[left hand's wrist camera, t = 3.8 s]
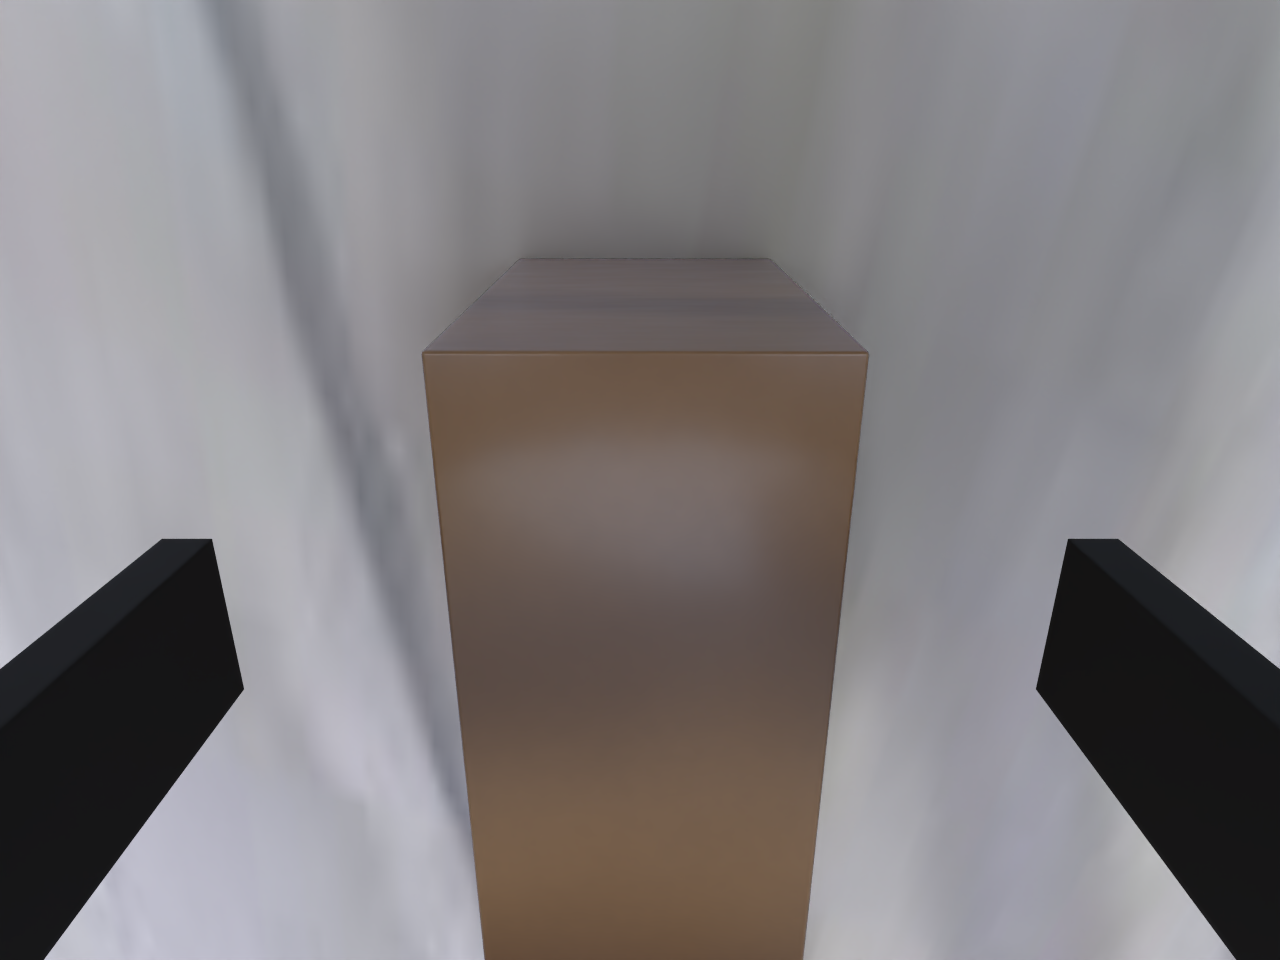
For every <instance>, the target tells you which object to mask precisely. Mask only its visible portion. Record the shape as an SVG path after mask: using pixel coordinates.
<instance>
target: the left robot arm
mask: <svg viewBox="0 0 1280 960" xmlns="http://www.w3.org/2000/svg"><path fill="white" fill-rule="evenodd" d="M243 690H244V687H243V682H242V677H241V673H240V668H239V663H238V659H237V654H236V649H235V645H234V640H233V635H232V631H231V626H230V621H229V617H228V612H227V607H226V603H225V598H224V593H223V588H222V584H221V579H220V574H219V570H218V565H217V560H216V556H215V551H214V546H213V542H212V539H161V540H160V541H159V542H158V543H156V544H155V545H154V546H153V547H151V548H150V549H149V550H148V551H146V552H145V553H144V554H143V555H141V556H140V557H139V558H138V559H136V560H135V561H134V562H133V563H131V564H130V565H129V566H128V567H127V568H125V569H124V570H123V571H122V572H120V573H119V574H118V575H117V576H115V577H114V578H113V579H112V580H110V581H109V582H108V583H107V584H105V585H104V586H103V587H102V588H100V589H99V590H98V591H97V592H95V593H94V594H93V595H92V596H91V597H89V598H88V599H87V600H86V601H84V602H83V603H82V604H81V605H79V606H78V607H77V608H76V609H74V610H73V611H72V612H71V613H69V614H68V615H67V616H66V617H64V618H63V619H62V620H61V621H59V622H58V623H57V624H56V625H54V626H53V627H52V628H51V629H50V630H48V631H47V632H46V633H45V634H43V635H42V636H41V637H40V638H38V639H37V640H36V641H35V642H33V643H32V644H31V645H30V646H28V647H27V648H26V649H25V650H23V651H22V652H21V653H20V654H18V655H17V656H16V657H15V658H13V659H12V660H11V661H10V662H9V663H7V664H6V665H5V666H4V667H2V668H1V669H0V960H44V959H45V957H46V956H47V955H48V953H49V952H50V951H51V949H52V948H53V947H54V945H55V944H56V942H57V941H58V940H59V938H60V937H61V936H62V934H63V933H64V932H65V930H66V929H67V928H68V926H69V925H70V924H71V922H72V921H73V920H74V918H75V917H76V915H77V914H78V913H79V911H80V910H81V909H82V907H83V906H84V905H85V903H86V902H87V901H88V899H89V898H90V897H91V895H92V894H93V892H94V891H95V890H96V888H97V887H98V886H99V884H100V883H101V882H102V880H103V879H104V878H105V876H106V875H107V874H108V872H109V871H110V870H111V868H112V867H113V865H114V864H115V863H116V861H117V860H118V859H119V857H120V856H121V855H122V853H123V852H124V851H125V849H126V848H127V847H128V845H129V844H130V843H131V841H132V840H133V838H134V837H135V836H136V834H137V833H138V832H139V830H140V829H141V828H142V826H143V825H144V824H145V822H146V821H147V820H148V818H149V817H150V815H151V814H152V813H153V811H154V810H155V809H156V807H157V806H158V805H159V803H160V802H161V801H162V799H163V798H164V797H165V795H166V794H167V793H168V791H169V790H170V788H171V787H172V786H173V784H174V783H175V782H176V780H177V779H178V778H179V776H180V775H181V774H182V772H183V771H184V770H185V768H186V767H187V765H188V764H189V763H190V761H191V760H192V759H193V757H194V756H195V755H196V753H197V752H198V751H199V749H200V748H201V747H202V745H203V744H204V743H205V741H206V740H207V738H208V737H209V736H210V734H211V733H212V732H213V730H214V729H215V728H216V726H217V725H218V724H219V722H220V721H221V720H222V718H223V717H224V715H225V714H226V713H227V711H228V710H229V709H230V707H231V706H232V705H233V703H234V702H235V701H236V699H237V698H238V697H239V695H240V694H241V693H242V691H243ZM1036 690H1037V691H1038V693H1039V694H1040V695H1041V697H1042V698H1043V699H1044V701H1045V702H1046V703H1047V705H1048V706H1049V707H1050V709H1051V710H1052V711H1053V713H1054V714H1055V715H1056V717H1057V718H1058V720H1059V721H1060V722H1061V724H1062V725H1063V726H1064V728H1065V729H1066V730H1067V732H1068V733H1069V734H1070V736H1071V737H1072V738H1073V740H1074V741H1075V743H1076V744H1077V745H1078V747H1079V748H1080V749H1081V751H1082V752H1083V753H1084V755H1085V756H1086V757H1087V759H1088V760H1089V761H1090V763H1091V764H1092V765H1093V767H1094V768H1095V770H1096V771H1097V772H1098V774H1099V775H1100V776H1101V778H1102V779H1103V780H1104V782H1105V783H1106V784H1107V786H1108V787H1109V788H1110V790H1111V791H1112V793H1113V794H1114V795H1115V797H1116V798H1117V799H1118V801H1119V802H1120V803H1121V805H1122V806H1123V807H1124V809H1125V810H1126V811H1127V813H1128V814H1129V815H1130V817H1131V818H1132V820H1133V821H1134V822H1135V824H1136V825H1137V826H1138V828H1139V829H1140V830H1141V832H1142V833H1143V834H1144V836H1145V837H1146V838H1147V840H1148V841H1149V843H1150V844H1151V845H1152V847H1153V848H1154V849H1155V851H1156V852H1157V853H1158V855H1159V856H1160V857H1161V859H1162V860H1163V861H1164V863H1165V864H1166V865H1167V867H1168V868H1169V870H1170V871H1171V872H1172V874H1173V875H1174V876H1175V878H1176V879H1177V880H1178V882H1179V883H1180V884H1181V886H1182V887H1183V888H1184V890H1185V891H1186V893H1187V894H1188V895H1189V897H1190V898H1191V899H1192V901H1193V902H1194V903H1195V905H1196V906H1197V907H1198V909H1199V910H1200V911H1201V913H1202V914H1203V915H1204V917H1205V918H1206V920H1207V921H1208V922H1209V924H1210V925H1211V926H1212V928H1213V929H1214V930H1215V932H1216V933H1217V934H1218V936H1219V937H1220V938H1221V940H1222V941H1223V942H1224V944H1225V945H1226V947H1227V948H1228V949H1229V951H1230V952H1231V953H1232V955H1233V956H1234V957H1235V959H1236V960H1280V669H1279V668H1278V667H1276V666H1275V665H1274V664H1273V663H1271V662H1270V661H1269V660H1268V659H1266V658H1265V657H1264V656H1263V655H1262V654H1260V653H1259V652H1258V651H1257V650H1255V649H1254V648H1253V647H1252V646H1250V645H1249V644H1248V643H1247V642H1245V641H1244V640H1243V639H1242V638H1240V637H1239V636H1238V635H1237V634H1235V633H1234V632H1233V631H1232V630H1230V629H1229V628H1228V627H1227V626H1226V625H1224V624H1223V623H1222V622H1221V621H1219V620H1218V619H1217V618H1216V617H1214V616H1213V615H1212V614H1211V613H1209V612H1208V611H1207V610H1206V609H1204V608H1203V607H1202V606H1201V605H1199V604H1198V603H1197V602H1196V601H1194V600H1193V599H1192V598H1191V597H1189V596H1188V595H1187V594H1186V593H1185V592H1183V591H1182V590H1181V589H1180V588H1178V587H1177V586H1176V585H1175V584H1173V583H1172V582H1171V581H1170V580H1168V579H1167V578H1166V577H1165V576H1163V575H1162V574H1161V573H1160V572H1158V571H1157V570H1156V569H1155V568H1153V567H1152V566H1151V565H1150V564H1149V563H1147V562H1146V561H1145V560H1144V559H1142V558H1141V557H1140V556H1139V555H1137V554H1136V553H1135V552H1134V551H1132V550H1131V549H1130V548H1129V547H1127V546H1126V545H1125V544H1124V543H1122V542H1121V541H1120V540H1119V539H1068V542H1067V546H1066V551H1065V556H1064V560H1063V565H1062V570H1061V574H1060V579H1059V584H1058V588H1057V593H1056V598H1055V603H1054V607H1053V612H1052V617H1051V621H1050V626H1049V631H1048V635H1047V640H1046V645H1045V649H1044V654H1043V659H1042V663H1041V668H1040V673H1039V677H1038V682H1037V687H1036Z"/></svg>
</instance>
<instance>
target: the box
mask: <svg viewBox="0 0 1280 960" xmlns="http://www.w3.org/2000/svg"><path fill="white" fill-rule="evenodd" d="M868 359H869V353H868V351H867V350H865V349H864V348H863V347H862V346H861V345H860V344H859V343H858V342H857V341H856V340H855V339H854V338H853V337H852V336H851V335H850V334H849V333H848V332H847V331H846V330H844V329H843V328H842V327H841V326H840V325H839V324H838V323H837V322H836V321H835V320H834V319H833V318H832V317H831V316H830V315H829V314H828V313H827V312H826V311H825V310H823V309H822V308H821V307H820V306H819V305H818V304H817V303H816V302H815V301H814V300H813V299H812V298H811V297H810V296H809V295H808V294H807V293H806V292H805V291H804V290H802V289H801V288H800V287H799V286H798V285H797V284H796V283H795V282H794V281H793V280H792V279H791V278H790V277H789V276H788V275H787V274H786V273H785V272H784V271H783V270H781V269H780V268H779V267H778V266H777V265H776V264H775V263H774V262H773V261H772V260H771V259H519V260H518V261H517V262H516V263H515V264H514V265H513V266H512V267H511V268H510V269H509V270H507V271H506V272H505V273H504V274H503V275H502V276H501V277H500V278H499V279H498V280H497V281H496V282H495V283H494V284H493V285H492V286H491V287H490V288H489V289H488V290H487V291H485V292H484V293H483V294H482V295H481V296H480V297H479V298H478V299H477V300H476V301H475V302H474V303H473V304H472V305H471V306H470V307H469V308H468V309H467V310H466V311H464V312H463V313H462V314H461V315H460V316H459V317H458V318H457V319H456V320H455V321H454V322H453V323H452V324H451V325H450V326H449V327H448V328H447V329H446V330H445V331H444V332H442V333H441V334H440V335H439V336H438V337H437V338H436V339H435V340H434V341H433V342H432V343H431V344H430V345H429V346H428V347H427V348H426V349H425V350H424V351H423V352H422V362H423V371H424V381H425V390H426V400H427V410H428V419H429V429H430V439H431V448H432V458H433V467H434V477H435V487H436V496H437V506H438V516H439V525H440V535H441V544H442V554H443V564H444V573H445V583H446V593H447V602H448V612H449V621H450V631H451V641H452V650H453V660H454V669H455V679H456V689H457V698H458V708H459V718H460V727H461V737H462V746H463V756H464V766H465V775H466V785H467V795H468V804H469V814H470V823H471V833H472V843H473V852H474V862H475V872H476V881H477V891H478V900H479V910H480V920H481V929H482V939H483V949H484V958H485V960H803V956H804V946H805V937H806V928H807V919H808V910H809V900H810V891H811V882H812V873H813V864H814V855H815V845H816V836H817V827H818V818H819V809H820V800H821V790H822V781H823V772H824V763H825V754H826V744H827V735H828V726H829V717H830V708H831V699H832V689H833V680H834V671H835V662H836V653H837V644H838V634H839V625H840V616H841V607H842V598H843V588H844V579H845V570H846V561H847V552H848V543H849V533H850V524H851V515H852V506H853V497H854V488H855V478H856V469H857V460H858V451H859V442H860V433H861V423H862V414H863V405H864V396H865V387H866V377H867V368H868Z"/></svg>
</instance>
